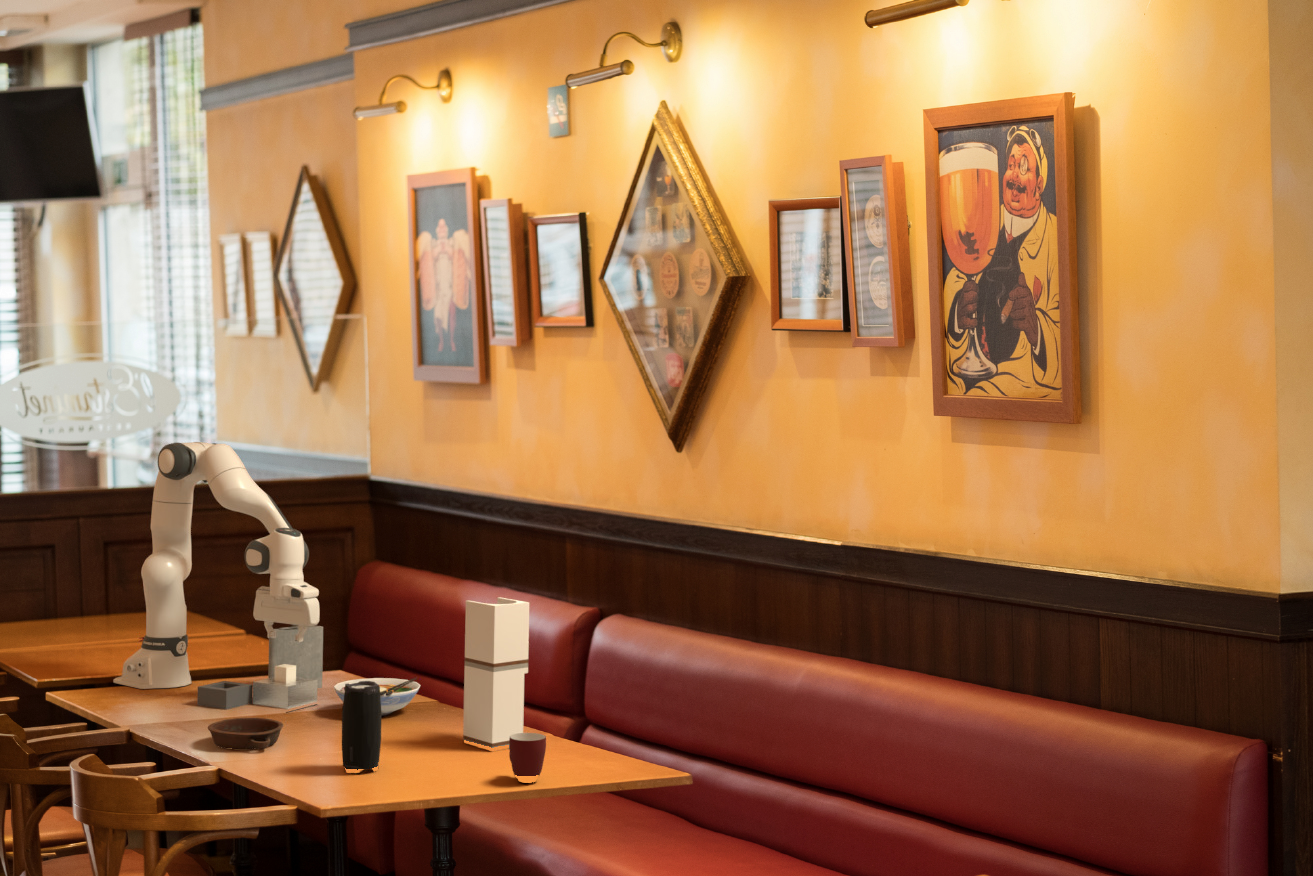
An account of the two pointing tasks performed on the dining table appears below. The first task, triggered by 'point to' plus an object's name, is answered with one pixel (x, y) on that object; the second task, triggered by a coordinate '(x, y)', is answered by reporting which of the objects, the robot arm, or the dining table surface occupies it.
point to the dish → (245, 733)
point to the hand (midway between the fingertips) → (285, 639)
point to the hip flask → (298, 652)
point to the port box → (285, 693)
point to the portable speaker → (361, 725)
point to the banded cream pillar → (495, 670)
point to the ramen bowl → (387, 692)
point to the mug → (527, 753)
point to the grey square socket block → (224, 695)
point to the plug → (285, 673)
